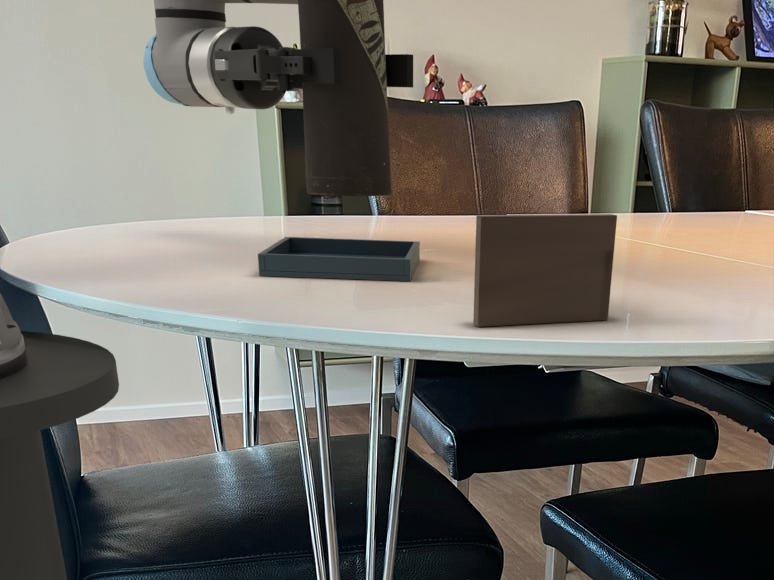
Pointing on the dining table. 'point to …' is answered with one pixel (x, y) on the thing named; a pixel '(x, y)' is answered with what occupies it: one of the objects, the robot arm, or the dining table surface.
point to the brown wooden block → (543, 268)
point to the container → (347, 100)
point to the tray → (340, 259)
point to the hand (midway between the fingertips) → (374, 68)
